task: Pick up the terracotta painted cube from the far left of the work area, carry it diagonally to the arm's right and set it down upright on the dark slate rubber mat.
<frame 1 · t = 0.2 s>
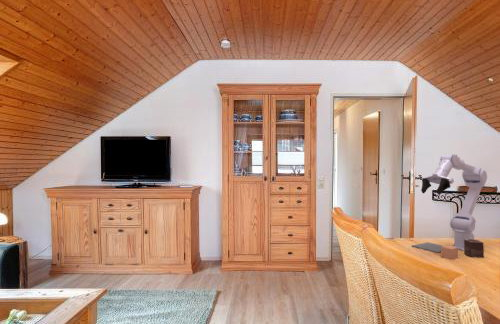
hand: (430, 192, 153), 31 cm above the table, tool tilted 45°, fingers open, 7 cm apart
mat: (432, 248, 167), on the table
cube: (449, 257, 151), on the table
box: (473, 256, 153), on the table
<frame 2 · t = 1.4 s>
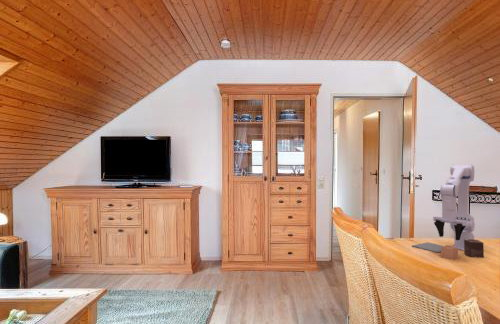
hand: (449, 238, 151), 9 cm above the table, tool pointing down, fingers open, 7 cm apart
nothing on the table moved.
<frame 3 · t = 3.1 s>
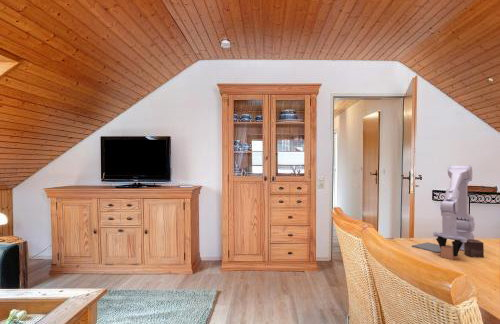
hand: (449, 254, 151), 1 cm above the table, tool pointing down, fingers closed on cube, 5 cm apart
cube: (449, 257, 151), on the table, touching gripper
everything else where it was.
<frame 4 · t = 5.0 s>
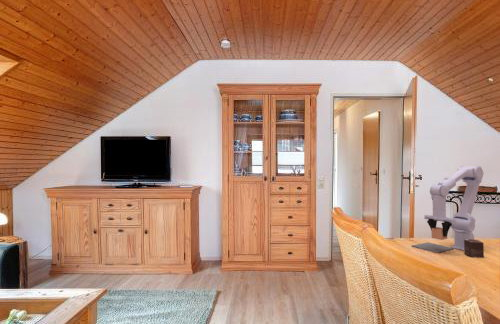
hand: (439, 235, 160), 8 cm above the table, tool pointing down, fingers closed on cube, 5 cm apart
cube: (439, 238, 160), point 7 cm above the table, touching gripper
everything else where it was.
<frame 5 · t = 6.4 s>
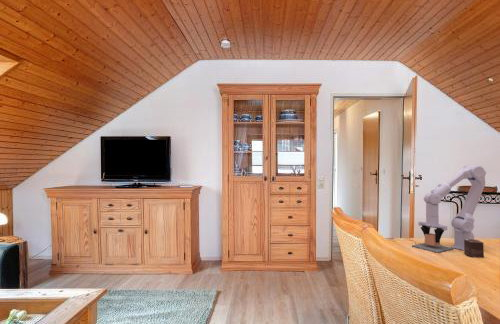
hand: (432, 241, 167), 4 cm above the table, tool pointing down, fingers closed on cube, 5 cm apart
cube: (432, 244, 167), point 2 cm above the table, touching gripper
everything else where it was.
when the fingers open (3 cm above the table, at t = 7.3 s): cube drops 1 cm, resting on mat.
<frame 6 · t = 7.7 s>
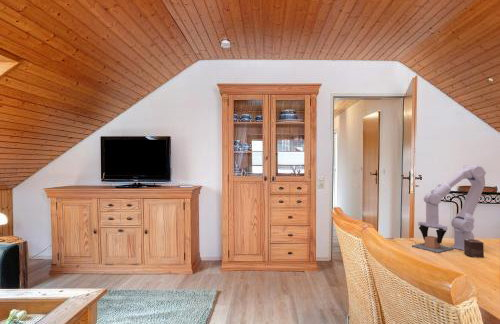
hand: (432, 241, 167), 3 cm above the table, tool pointing down, fingers open, 7 cm apart
cube: (432, 246, 167), point 1 cm above the table, touching mat
everything else where it was.
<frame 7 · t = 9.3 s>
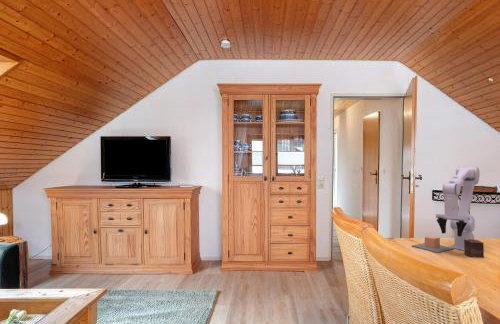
hand: (451, 234, 157), 9 cm above the table, tool pointing down, fingers open, 7 cm apart
nothing on the table moved.
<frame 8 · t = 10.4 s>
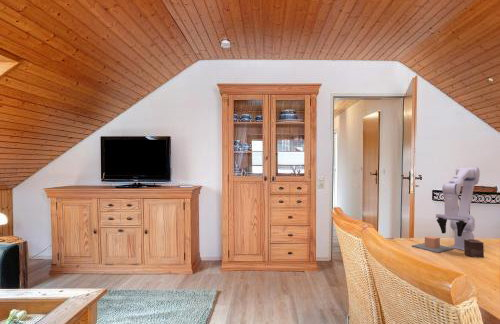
hand: (451, 234, 157), 9 cm above the table, tool pointing down, fingers open, 7 cm apart
nothing on the table moved.
at the end: cube inside the target area on the mat (0.1 cm from its centre), point 0.6 cm above the mat's base; cube tilted 0°; the gripper is holding nothing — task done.
